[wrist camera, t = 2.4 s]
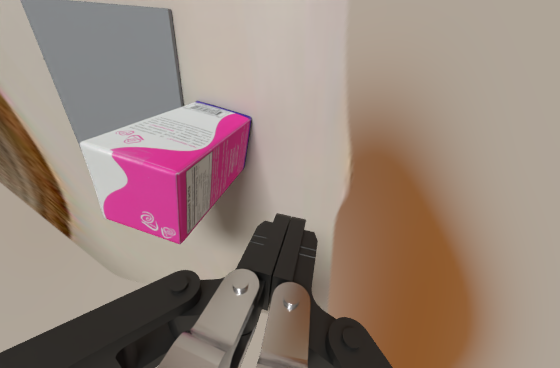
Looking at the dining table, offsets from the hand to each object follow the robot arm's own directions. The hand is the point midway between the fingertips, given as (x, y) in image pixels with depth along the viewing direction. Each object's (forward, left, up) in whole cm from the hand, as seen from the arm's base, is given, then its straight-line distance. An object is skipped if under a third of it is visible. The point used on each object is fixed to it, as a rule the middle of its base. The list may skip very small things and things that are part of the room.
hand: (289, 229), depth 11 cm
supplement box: (-9, 0, -11) cm, 15 cm away
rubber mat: (-21, 0, -11) cm, 24 cm away
